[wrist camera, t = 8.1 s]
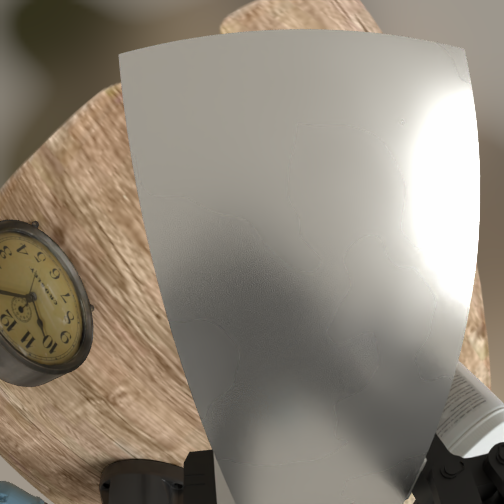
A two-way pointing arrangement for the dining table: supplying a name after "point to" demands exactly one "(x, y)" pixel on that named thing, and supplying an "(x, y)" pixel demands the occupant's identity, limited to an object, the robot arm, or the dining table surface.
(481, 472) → the robot arm
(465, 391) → the supplement tub
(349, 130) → the rail
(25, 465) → the dining table surface
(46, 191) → the dining table surface
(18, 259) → the alarm clock
